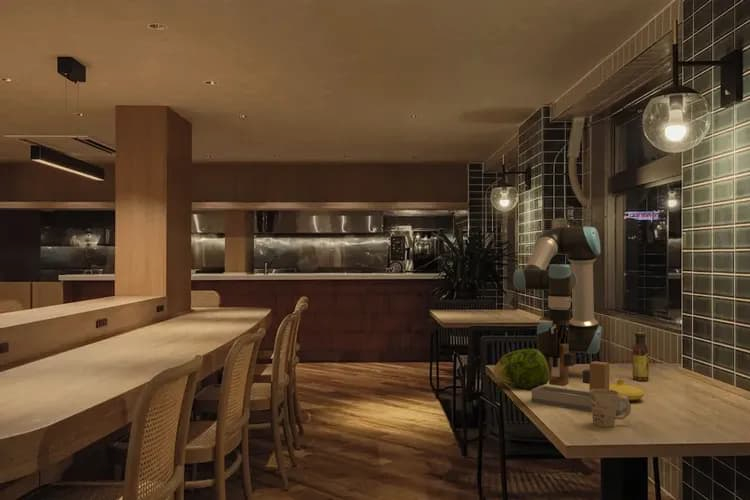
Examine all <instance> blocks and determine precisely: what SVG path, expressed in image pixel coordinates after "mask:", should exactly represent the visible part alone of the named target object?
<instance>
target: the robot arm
mask: <svg viewBox="0 0 750 500" xmlns="http://www.w3.org/2000/svg"><path fill="white" fill-rule="evenodd" d="M533 249H534V250H532V251H533V252H532V253H531V255H530V257H529V258H528V261H527V262H526V264H525V266H524V268H520V269H515V270H514V272H513V277H512V278H513V281H512V283H513V286H514V288H515V289H516V290H525V291H526V290H533V291H534V290H535V291H536V290H537V291H540V290H541V291H548V296H547V298H548V301H547V302H548V303H547V304H548V305H547V308H549V309H548V310H547V312H548V313H547V314H548V316H547V318H548V320H550V321H544V322H540V323H538V325H537V329H536V350H539V351H540V352H541V353H542V354H543V356H544V357H545V359H546V361H547V364H548V368H549V357H552V376H555V377H560V358H559V352H560V343H562V344H569V353H575V354H576V353H577V354H586V355H588V354H597V353H598V352H599V350H600V346H601V342H602V336H603V335H602V334H603V328H602V326H601V325H599V322H598V320H597V319H595V308H594V307H595V306H594V305H595V304H594V302H595V301H594V264H593V263H594V262H595V261H596V260H597V256H599V255H600V254H601V240H600V236H599V232H598V229H597V228H596V227H593V226H557V227H553V228H551V229H549V230H547V231H545V232H543V233H541V235H540V236H538V237H537V239H536V241H535V242H534V244H533ZM556 255H557V256H559V255H563V256H565V255H566V256H567V260H568V261H569V263H570V264H550V262H551V260H552V258H553V257H555V256H556ZM547 268H548V269H547ZM571 304H572V305H571ZM571 306H572V308H571ZM570 308H571V309H572V311H571V310H570ZM571 312H572V315H571ZM571 316H572V318H571ZM567 321H568V324H567ZM569 374H570V373H569V372H568V377H570V375H569Z"/></svg>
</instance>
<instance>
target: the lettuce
mask: <svg viewBox="0 0 750 500" xmlns="http://www.w3.org/2000/svg"><path fill="white" fill-rule="evenodd" d="M493 374H494V375H493V376H494V378H495V379H496V381H497V382H498V383H500V384H504V385H507V386H509V387H513V388H518V389H519V388H520V389H534V388H536V387H539V386H541V385H545V386H546V385H547V383H549V368H548V364H547V361H546V359H545V357H544V356H543V354H542V353H541V352H540V351H539V350H537V348H522V349H518V350H514V351H511V352H507V353H505V354H504V355H503V356H501V358H500V359H499V361H497V363H496V365H495V366H494V369H493Z"/></svg>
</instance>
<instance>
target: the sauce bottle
mask: <svg viewBox="0 0 750 500" xmlns="http://www.w3.org/2000/svg"><path fill="white" fill-rule="evenodd" d="M634 337H635V344H634V346H633V348H632V379H633V380H634V381H636V380H637V381H638V382H647V381H649V377H650V376H649V374H650V371H649V368H650V365H649V363H650V360H649V349H648V347H647V344H646V332H635V333H634Z"/></svg>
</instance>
